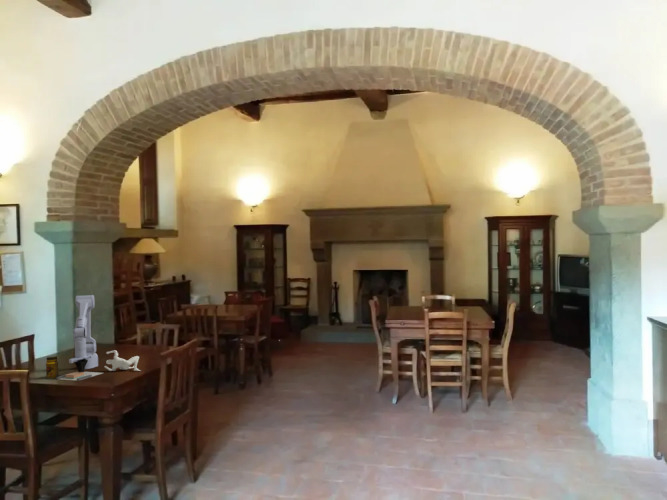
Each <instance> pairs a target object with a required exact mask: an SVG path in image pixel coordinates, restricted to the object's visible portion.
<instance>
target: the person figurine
mask: <svg viewBox="0 0 667 500" xmlns="http://www.w3.org/2000/svg"><path fill="white" fill-rule="evenodd" d="M113 353H114V355H113V359H107V360H106V361H105V363H106V364H107V365H111V366H112V367H111V368H110V367H108V366H107V365H104V367H103V368H104V369H106V370H108V371H109V372H116V370H117V369H118V368H119V370H122V371H124V370H125V371H126V370H130V369H133V371H138V372H141V371H142V370H141V369H139V368H137V366H138V363H139V360H140V356H139V355H136V356H131V358H129V359H128V360H127V359H124V358H123V357H122V358H121V357H119V352H118V351H117V350H115V349H114V350H111V351H110V350H109V351H106V353H105V354H107V355H109V354H113ZM131 365H133V366H131Z"/></svg>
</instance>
